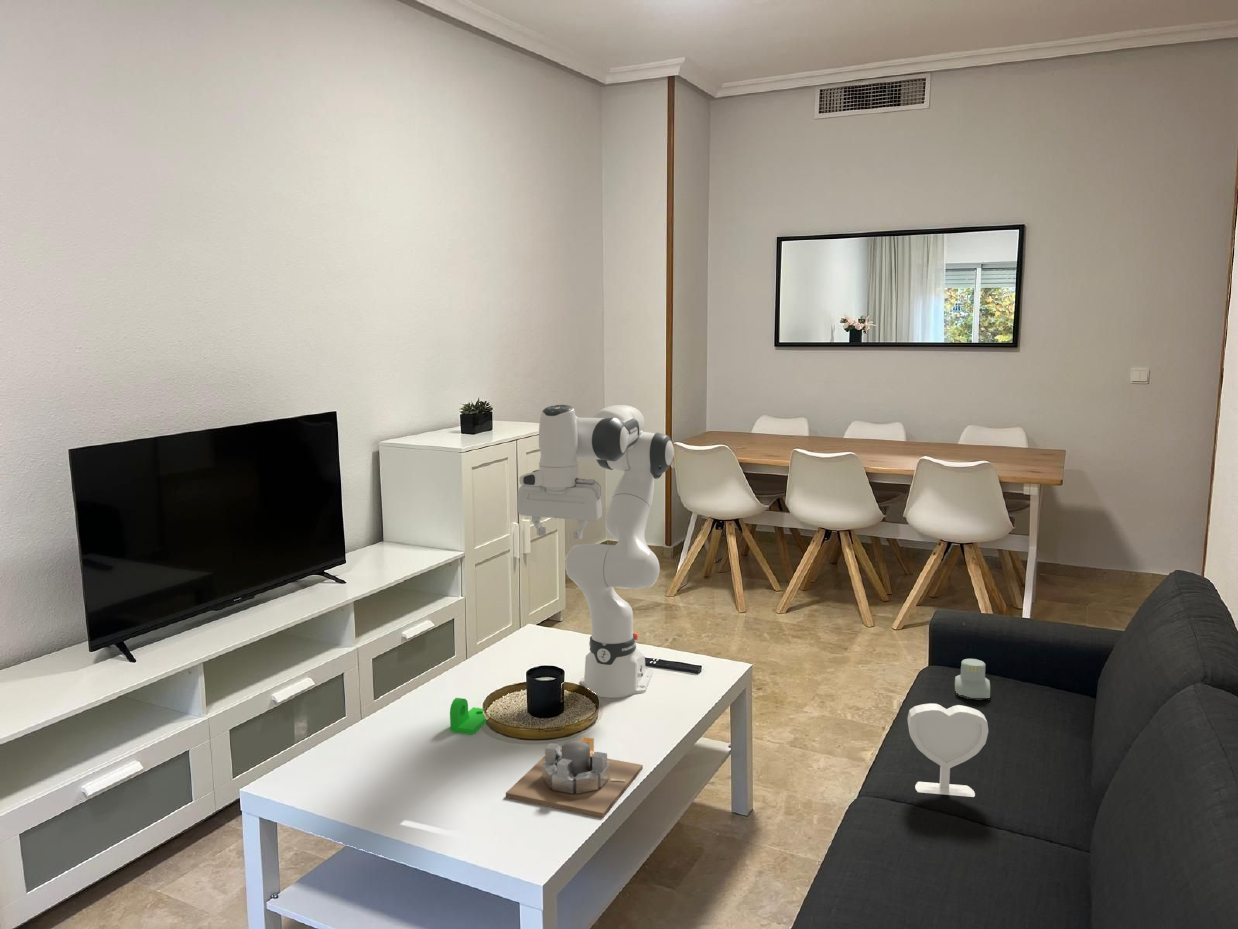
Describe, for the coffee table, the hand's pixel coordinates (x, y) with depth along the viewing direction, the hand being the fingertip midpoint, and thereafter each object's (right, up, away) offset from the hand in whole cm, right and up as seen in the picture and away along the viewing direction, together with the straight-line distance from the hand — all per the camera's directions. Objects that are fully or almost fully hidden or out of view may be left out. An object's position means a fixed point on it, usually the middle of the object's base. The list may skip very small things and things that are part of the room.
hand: (559, 537), depth 212 cm
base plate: (+4, -52, -14) cm, 54 cm away
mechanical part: (-22, -48, +15) cm, 55 cm away
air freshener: (+106, -45, +29) cm, 118 cm away
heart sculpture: (+82, -52, -18) cm, 98 cm away
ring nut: (+4, -50, -14) cm, 52 cm away
